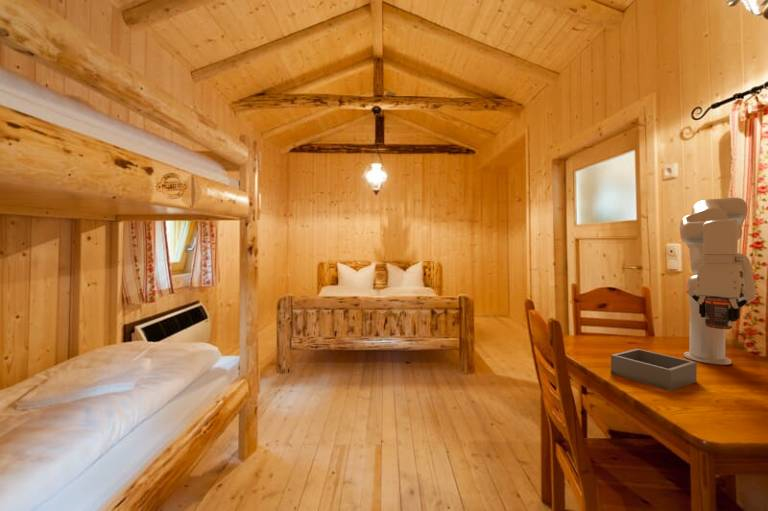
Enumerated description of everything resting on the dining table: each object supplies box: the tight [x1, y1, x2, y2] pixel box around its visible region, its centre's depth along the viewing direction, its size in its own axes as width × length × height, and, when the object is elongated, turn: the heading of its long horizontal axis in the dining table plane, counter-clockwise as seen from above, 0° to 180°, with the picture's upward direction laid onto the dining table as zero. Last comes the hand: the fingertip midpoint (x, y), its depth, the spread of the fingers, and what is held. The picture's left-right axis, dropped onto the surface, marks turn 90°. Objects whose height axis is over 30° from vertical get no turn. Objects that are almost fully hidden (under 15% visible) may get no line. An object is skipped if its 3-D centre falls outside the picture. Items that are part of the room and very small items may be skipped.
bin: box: [610, 348, 698, 392], centre depth 105 cm, size 16×16×6 cm
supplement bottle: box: [705, 296, 733, 330], centre depth 101 cm, size 6×6×11 cm
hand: (718, 318), depth 101 cm, fingers closed on supplement bottle, 6 cm apart
